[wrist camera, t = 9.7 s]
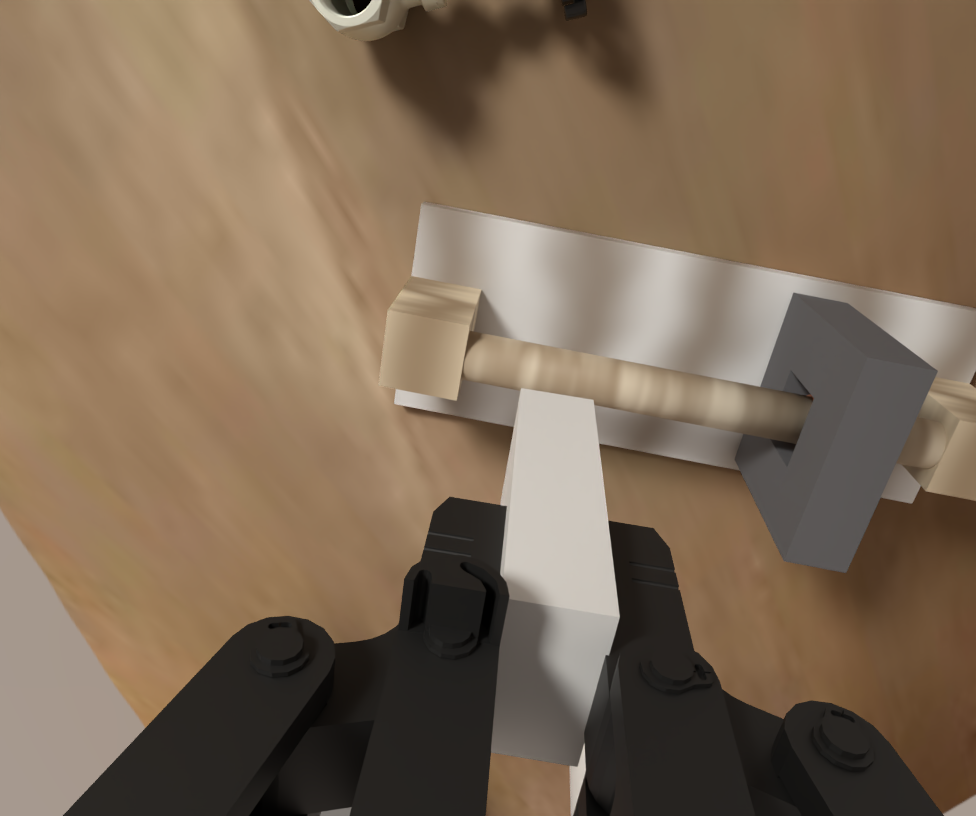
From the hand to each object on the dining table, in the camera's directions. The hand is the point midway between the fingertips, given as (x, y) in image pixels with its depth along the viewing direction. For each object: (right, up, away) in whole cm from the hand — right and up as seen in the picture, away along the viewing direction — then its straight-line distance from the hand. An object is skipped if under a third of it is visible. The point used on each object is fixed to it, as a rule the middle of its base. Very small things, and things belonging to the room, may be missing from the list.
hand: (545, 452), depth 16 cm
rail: (+10, +4, +28) cm, 30 cm away
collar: (+16, +2, +27) cm, 32 cm away
